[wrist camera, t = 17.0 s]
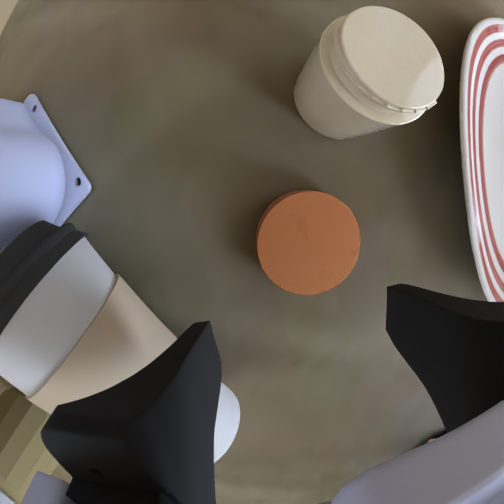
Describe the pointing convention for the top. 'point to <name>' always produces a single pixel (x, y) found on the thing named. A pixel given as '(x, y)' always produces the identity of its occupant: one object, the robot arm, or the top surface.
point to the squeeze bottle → (21, 445)
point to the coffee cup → (78, 325)
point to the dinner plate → (484, 150)
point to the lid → (307, 241)
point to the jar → (368, 74)
